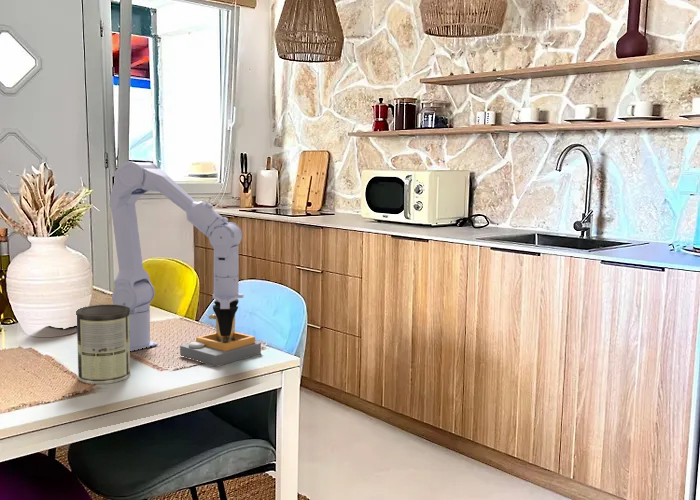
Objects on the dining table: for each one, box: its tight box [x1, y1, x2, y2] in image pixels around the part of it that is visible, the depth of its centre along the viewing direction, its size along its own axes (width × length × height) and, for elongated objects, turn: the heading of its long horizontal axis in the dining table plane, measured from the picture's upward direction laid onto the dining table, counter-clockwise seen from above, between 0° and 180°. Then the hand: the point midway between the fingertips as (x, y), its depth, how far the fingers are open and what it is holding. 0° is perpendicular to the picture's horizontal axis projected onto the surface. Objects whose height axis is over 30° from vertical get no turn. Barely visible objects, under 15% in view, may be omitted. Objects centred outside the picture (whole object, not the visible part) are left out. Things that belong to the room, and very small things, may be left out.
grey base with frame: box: [179, 331, 262, 368], centre depth 154 cm, size 14×12×4 cm
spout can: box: [208, 314, 236, 343], centre depth 154 cm, size 6×4×8 cm
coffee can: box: [76, 304, 131, 385], centre depth 135 cm, size 10×10×14 cm
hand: (225, 332), depth 155 cm, fingers closed on spout can, 4 cm apart
